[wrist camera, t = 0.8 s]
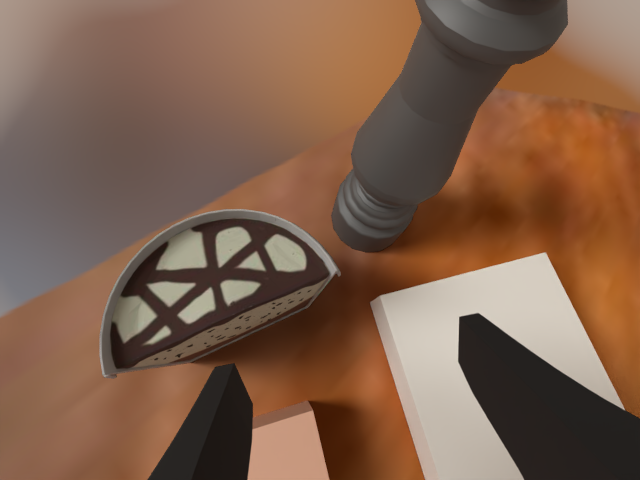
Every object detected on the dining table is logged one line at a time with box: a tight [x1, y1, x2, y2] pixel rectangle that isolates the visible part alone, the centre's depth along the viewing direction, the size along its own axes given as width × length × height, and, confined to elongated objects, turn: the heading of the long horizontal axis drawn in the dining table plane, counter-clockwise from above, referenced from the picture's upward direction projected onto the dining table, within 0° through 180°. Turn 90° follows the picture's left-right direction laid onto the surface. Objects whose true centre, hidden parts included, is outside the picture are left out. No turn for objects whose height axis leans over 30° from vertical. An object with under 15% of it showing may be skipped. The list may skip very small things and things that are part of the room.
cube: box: [247, 401, 329, 480], centre depth 20 cm, size 5×5×5 cm
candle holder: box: [331, 0, 568, 252], centre depth 17 cm, size 6×6×25 cm
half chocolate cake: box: [100, 209, 341, 378], centre depth 21 cm, size 12×6×10 cm, turn 115°
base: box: [370, 252, 625, 480], centre depth 24 cm, size 14×14×3 cm
